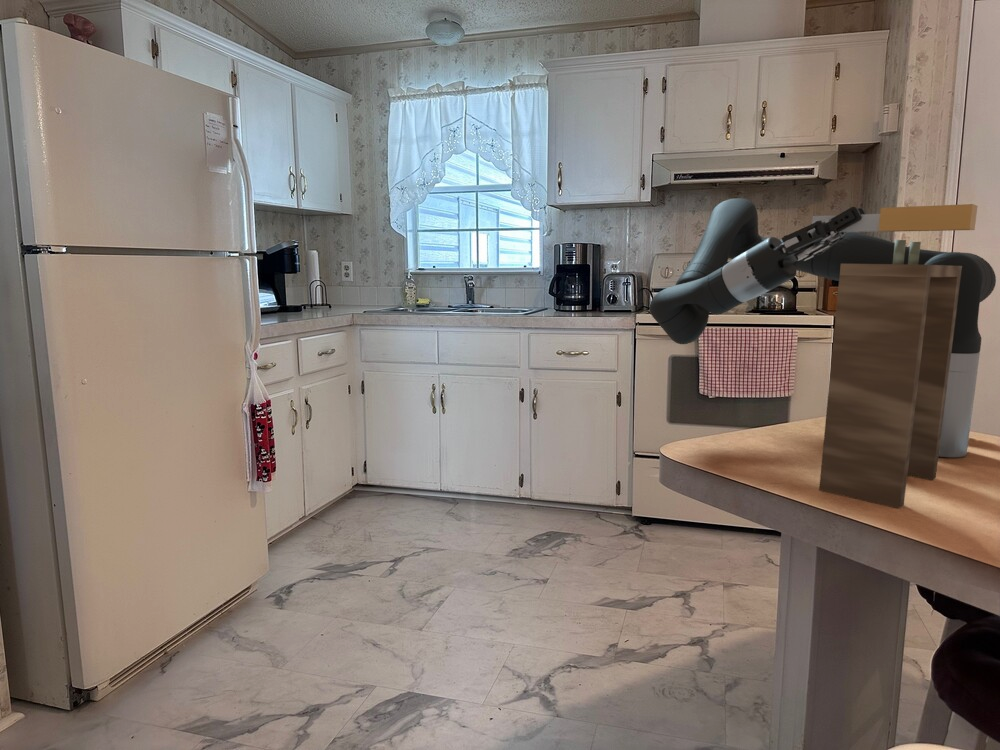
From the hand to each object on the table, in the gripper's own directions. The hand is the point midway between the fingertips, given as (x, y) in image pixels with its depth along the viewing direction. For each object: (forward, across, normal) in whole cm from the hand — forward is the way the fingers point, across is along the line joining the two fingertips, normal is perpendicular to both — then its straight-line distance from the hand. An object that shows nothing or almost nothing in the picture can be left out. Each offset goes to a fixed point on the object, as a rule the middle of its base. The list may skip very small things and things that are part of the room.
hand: (861, 213), depth 102 cm
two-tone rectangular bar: (+2, 0, -4) cm, 5 cm away
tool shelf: (-13, +5, -37) cm, 39 cm away
